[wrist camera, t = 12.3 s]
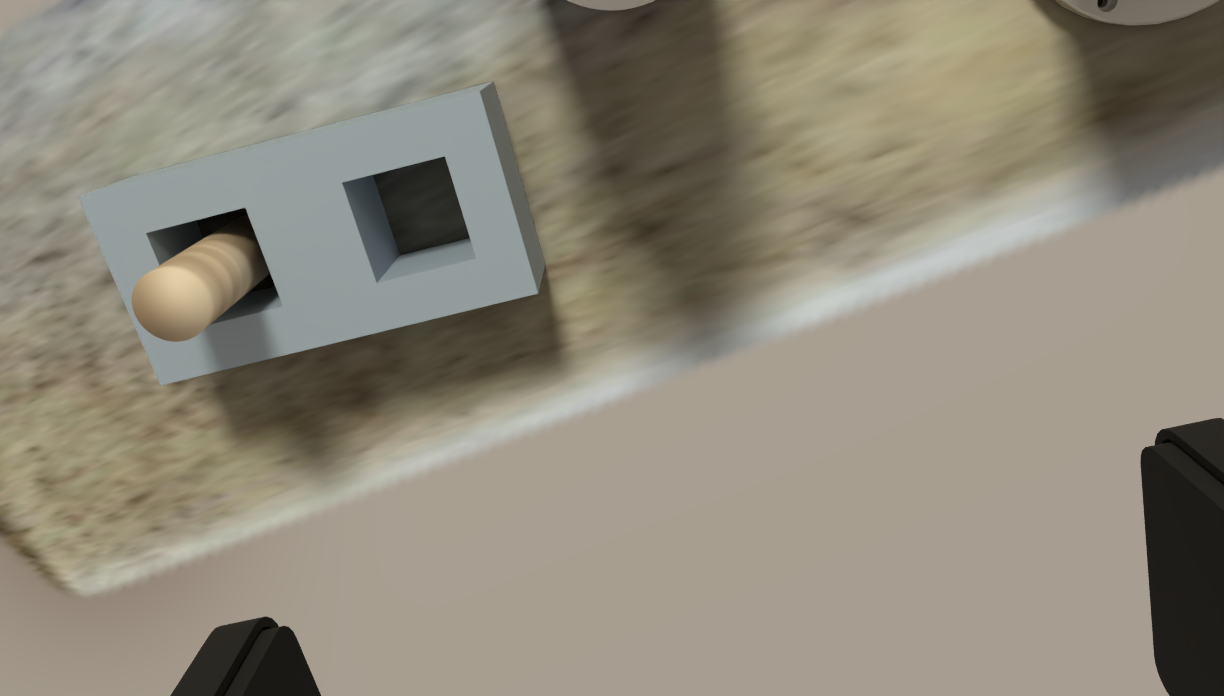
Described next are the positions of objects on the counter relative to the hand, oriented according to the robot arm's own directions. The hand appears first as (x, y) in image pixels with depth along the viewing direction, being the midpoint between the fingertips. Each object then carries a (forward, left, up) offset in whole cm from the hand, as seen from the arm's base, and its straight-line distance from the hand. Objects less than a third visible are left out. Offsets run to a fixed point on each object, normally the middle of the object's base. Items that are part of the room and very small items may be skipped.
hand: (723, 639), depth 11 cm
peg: (+19, 0, -38) cm, 42 cm away
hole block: (+15, 0, -38) cm, 41 cm away
